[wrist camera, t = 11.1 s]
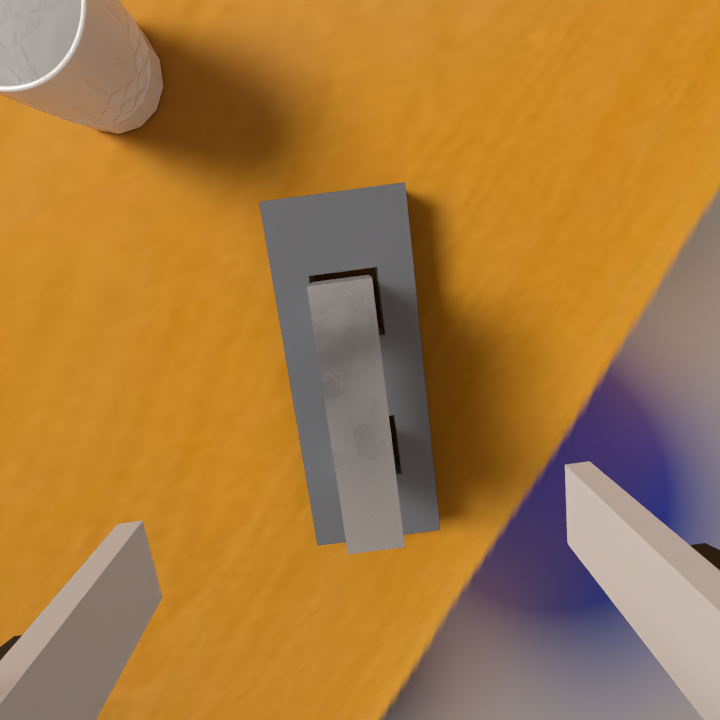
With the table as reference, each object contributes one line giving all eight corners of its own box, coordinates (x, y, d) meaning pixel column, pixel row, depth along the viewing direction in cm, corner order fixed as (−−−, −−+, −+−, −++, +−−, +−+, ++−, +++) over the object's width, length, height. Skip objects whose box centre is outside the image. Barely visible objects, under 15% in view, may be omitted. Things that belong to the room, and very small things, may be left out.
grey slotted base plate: (320, 522, 37) (317, 545, 34) (267, 206, 31) (259, 201, 28) (433, 507, 36) (440, 529, 34) (400, 189, 31) (405, 182, 28)
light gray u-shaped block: (348, 459, 35) (347, 554, 24) (322, 275, 32) (306, 286, 21) (387, 454, 35) (404, 547, 24) (364, 269, 32) (372, 277, 21)
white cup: (64, -18, 28) (-88, -162, 18) (189, 39, 29) (107, -71, 19) (34, 113, 30) (-121, 45, 20) (153, 163, 30) (60, 121, 21)
